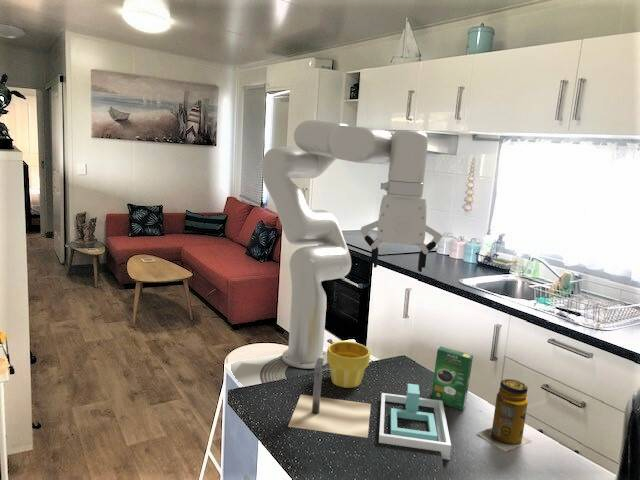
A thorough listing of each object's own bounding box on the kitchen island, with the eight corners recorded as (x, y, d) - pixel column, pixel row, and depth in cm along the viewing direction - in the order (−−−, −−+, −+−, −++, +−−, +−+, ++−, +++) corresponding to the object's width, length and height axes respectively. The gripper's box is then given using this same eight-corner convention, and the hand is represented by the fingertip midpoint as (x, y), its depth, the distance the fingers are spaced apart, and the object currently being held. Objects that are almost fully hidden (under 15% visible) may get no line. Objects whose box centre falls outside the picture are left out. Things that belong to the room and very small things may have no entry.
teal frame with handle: (390, 439, 100) (393, 411, 99) (390, 406, 113) (392, 381, 112) (436, 445, 99) (439, 417, 98) (430, 411, 112) (433, 386, 111)
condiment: (530, 441, 104) (539, 387, 102) (505, 452, 99) (513, 396, 97) (501, 424, 110) (508, 373, 108) (475, 434, 105) (482, 381, 103)
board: (300, 400, 114) (300, 394, 114) (370, 410, 112) (370, 403, 112) (287, 433, 101) (288, 426, 100) (367, 444, 99) (367, 437, 98)
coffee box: (467, 406, 117) (474, 353, 115) (464, 411, 115) (470, 357, 112) (433, 396, 121) (439, 345, 119) (430, 401, 118) (436, 348, 116)
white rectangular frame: (380, 404, 115) (381, 392, 114) (440, 413, 113) (442, 400, 113) (378, 449, 97) (379, 435, 97) (449, 459, 95) (451, 445, 95)
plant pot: (368, 398, 118) (371, 359, 116) (324, 395, 118) (327, 355, 116) (365, 379, 128) (368, 342, 126) (325, 375, 128) (328, 339, 127)
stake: (313, 406, 109) (317, 357, 107) (320, 407, 109) (324, 358, 107) (309, 417, 104) (313, 367, 103) (317, 418, 104) (321, 368, 102)
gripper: (363, 188, 104) (356, 268, 107) (448, 194, 102) (439, 276, 105) (365, 186, 111) (359, 261, 114) (444, 192, 109) (436, 268, 112)
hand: (397, 268), depth 109 cm, fingers open, 9 cm apart
